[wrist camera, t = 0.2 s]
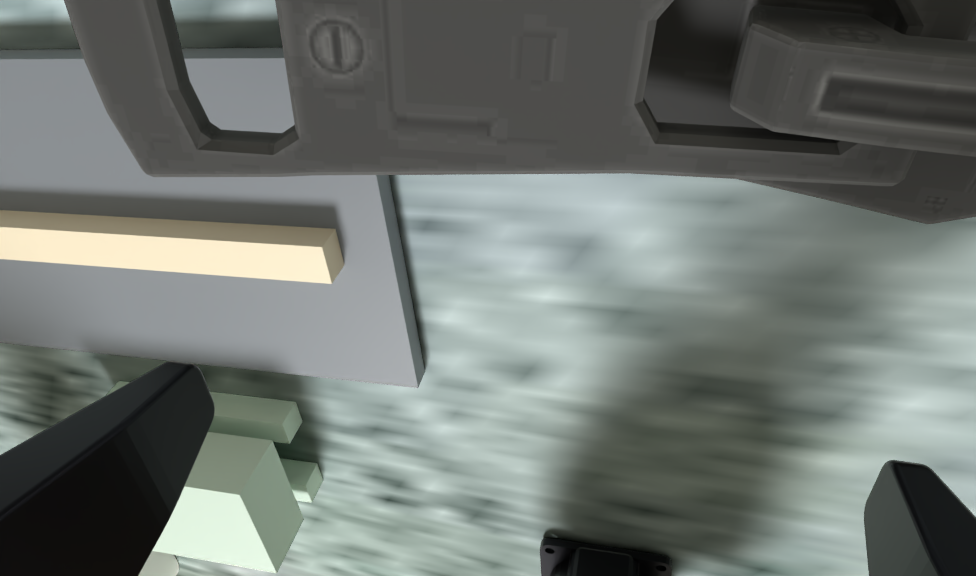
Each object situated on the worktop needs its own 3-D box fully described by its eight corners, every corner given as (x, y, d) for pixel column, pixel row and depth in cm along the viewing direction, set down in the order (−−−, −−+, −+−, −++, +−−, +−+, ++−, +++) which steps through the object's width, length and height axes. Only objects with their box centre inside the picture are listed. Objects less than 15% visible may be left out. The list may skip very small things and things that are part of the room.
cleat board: (424, 371, 30) (409, 408, 28) (-22, 325, 35) (-58, 354, 34) (365, 46, 22) (337, 72, 20) (-208, 51, 27) (-268, 71, 25)
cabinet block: (323, 479, 37) (276, 573, 33) (149, 454, 40) (85, 538, 35) (296, 400, 34) (239, 495, 29) (106, 378, 36) (29, 462, 32)
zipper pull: (-16, -203, 13) (1548, -117, 10) (177, -216, 19) (1248, -164, 15) (122, 197, 19) (1147, 354, 15) (241, 101, 24) (1031, 201, 20)
